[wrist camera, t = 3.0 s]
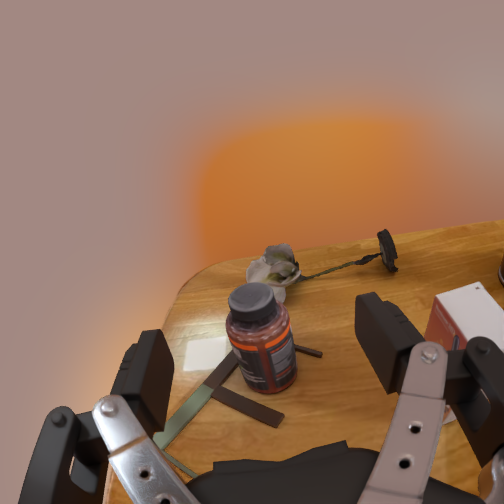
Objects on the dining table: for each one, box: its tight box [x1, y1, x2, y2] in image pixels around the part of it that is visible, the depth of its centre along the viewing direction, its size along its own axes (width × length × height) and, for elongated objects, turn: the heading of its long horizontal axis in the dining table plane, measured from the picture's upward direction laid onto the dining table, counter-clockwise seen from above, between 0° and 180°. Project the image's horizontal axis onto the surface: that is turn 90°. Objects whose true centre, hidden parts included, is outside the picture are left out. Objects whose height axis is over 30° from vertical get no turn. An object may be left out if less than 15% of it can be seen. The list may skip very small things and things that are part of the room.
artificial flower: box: [246, 229, 398, 303], centre depth 41 cm, size 9×22×10 cm, turn 89°
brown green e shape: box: [153, 344, 322, 478], centre depth 28 cm, size 19×10×1 cm, turn 146°
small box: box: [424, 282, 504, 425], centre depth 20 cm, size 8×6×10 cm
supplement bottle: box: [226, 282, 297, 393], centre depth 28 cm, size 6×6×11 cm
